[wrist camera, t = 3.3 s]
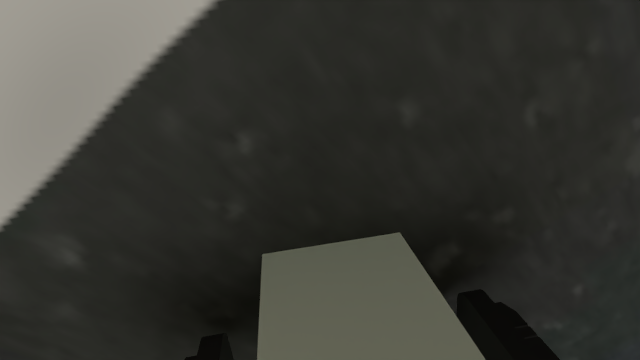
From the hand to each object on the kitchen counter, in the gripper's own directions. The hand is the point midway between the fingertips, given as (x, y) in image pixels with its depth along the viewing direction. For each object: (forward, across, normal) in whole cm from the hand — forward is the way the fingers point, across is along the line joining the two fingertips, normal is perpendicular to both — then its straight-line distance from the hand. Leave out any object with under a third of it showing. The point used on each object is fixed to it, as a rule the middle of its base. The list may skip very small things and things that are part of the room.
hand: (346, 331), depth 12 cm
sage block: (+2, 0, 0) cm, 2 cm away
